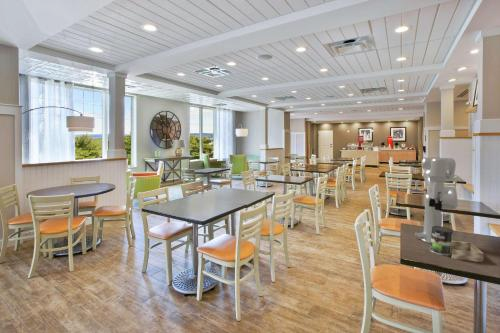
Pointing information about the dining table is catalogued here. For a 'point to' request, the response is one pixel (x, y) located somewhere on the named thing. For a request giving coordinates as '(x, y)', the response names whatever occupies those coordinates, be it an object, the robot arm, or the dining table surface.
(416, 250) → the dining table surface
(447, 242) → the coffee can
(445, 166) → the robot arm
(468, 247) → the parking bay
